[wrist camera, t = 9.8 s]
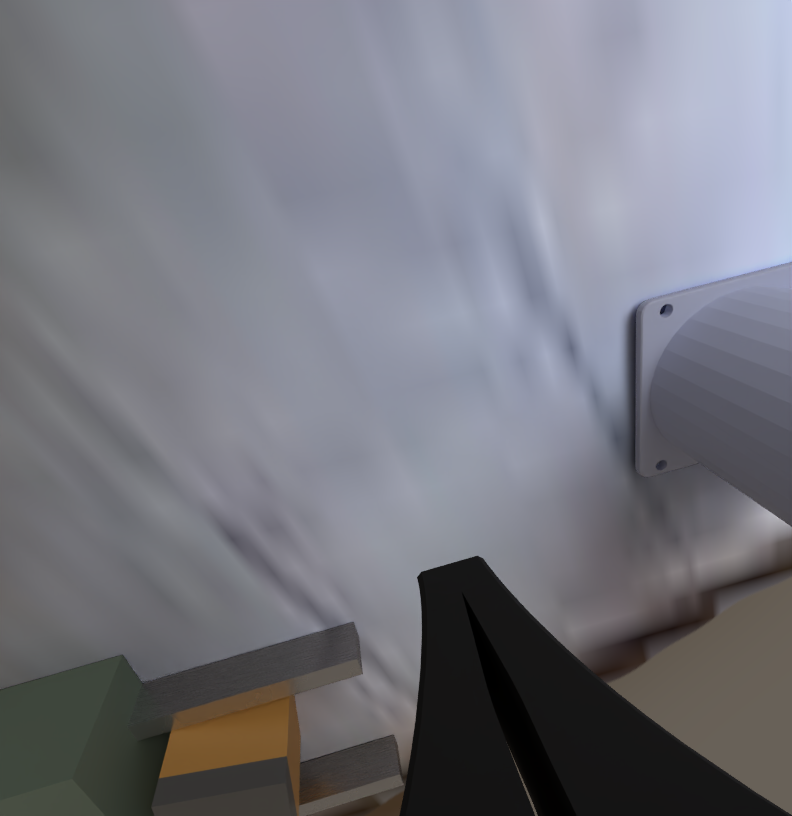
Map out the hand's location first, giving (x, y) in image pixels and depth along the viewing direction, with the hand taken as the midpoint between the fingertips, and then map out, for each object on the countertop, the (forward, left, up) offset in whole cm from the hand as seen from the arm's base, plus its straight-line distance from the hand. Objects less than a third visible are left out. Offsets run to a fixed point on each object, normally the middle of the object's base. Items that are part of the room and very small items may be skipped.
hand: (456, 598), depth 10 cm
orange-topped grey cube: (+11, +14, -10) cm, 20 cm away
